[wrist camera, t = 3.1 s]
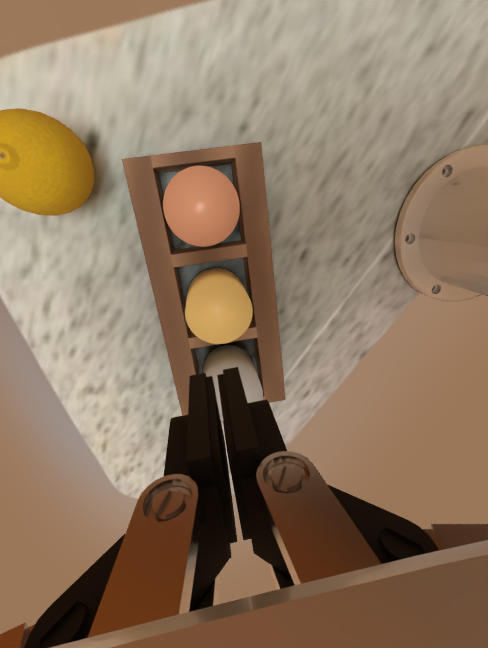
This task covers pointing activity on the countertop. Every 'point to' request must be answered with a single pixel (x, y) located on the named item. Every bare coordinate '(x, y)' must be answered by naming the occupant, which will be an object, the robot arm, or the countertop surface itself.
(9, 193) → the lemon
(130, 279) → the countertop surface
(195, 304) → the yellow short cylinder
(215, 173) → the pink cylinder
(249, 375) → the grey short rounded cylinder
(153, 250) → the wooden compartment tray
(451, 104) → the countertop surface
